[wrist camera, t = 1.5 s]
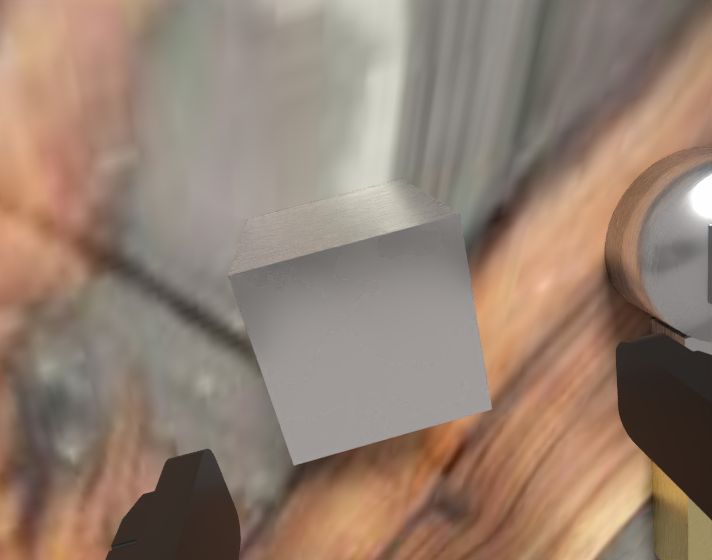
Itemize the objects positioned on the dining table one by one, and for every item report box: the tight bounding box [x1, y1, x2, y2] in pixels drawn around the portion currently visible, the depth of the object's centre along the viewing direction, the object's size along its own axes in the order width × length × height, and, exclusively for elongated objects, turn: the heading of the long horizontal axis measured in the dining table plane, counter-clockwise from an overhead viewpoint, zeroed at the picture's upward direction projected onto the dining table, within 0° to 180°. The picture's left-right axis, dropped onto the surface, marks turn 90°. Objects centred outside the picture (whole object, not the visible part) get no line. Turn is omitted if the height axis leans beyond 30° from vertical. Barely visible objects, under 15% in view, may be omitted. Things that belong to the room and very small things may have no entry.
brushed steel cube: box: [228, 179, 492, 465], centre depth 16 cm, size 6×6×7 cm
